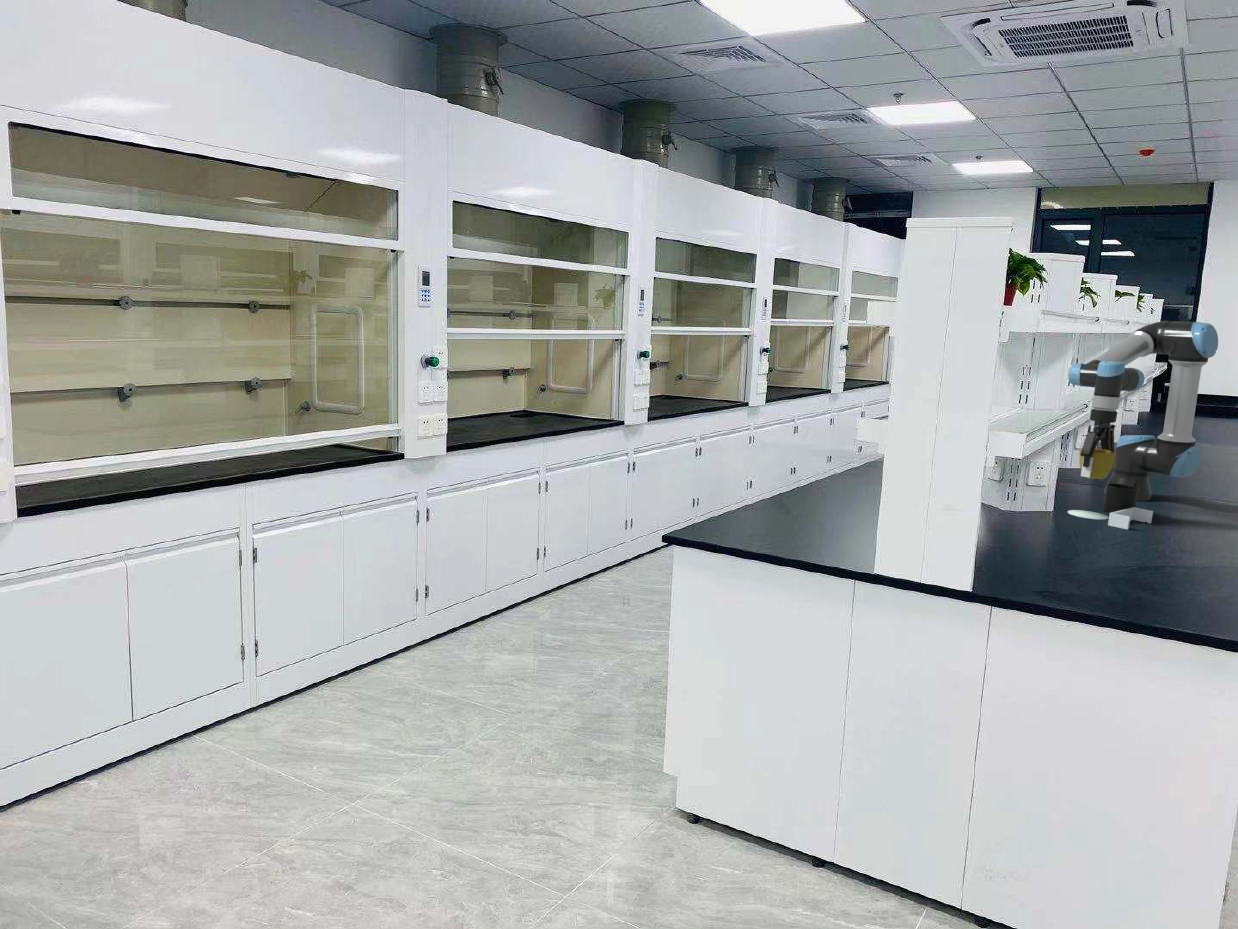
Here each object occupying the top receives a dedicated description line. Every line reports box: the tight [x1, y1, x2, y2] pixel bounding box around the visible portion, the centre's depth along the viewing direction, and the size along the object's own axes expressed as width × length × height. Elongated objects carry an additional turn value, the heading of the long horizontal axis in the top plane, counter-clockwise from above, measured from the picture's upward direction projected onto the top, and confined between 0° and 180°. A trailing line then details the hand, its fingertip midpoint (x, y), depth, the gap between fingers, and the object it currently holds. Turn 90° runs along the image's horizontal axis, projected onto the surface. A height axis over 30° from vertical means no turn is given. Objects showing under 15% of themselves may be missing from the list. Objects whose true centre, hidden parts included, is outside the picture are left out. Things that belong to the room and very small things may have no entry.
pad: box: [1067, 509, 1109, 521], centre depth 293 cm, size 12×12×1 cm
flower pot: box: [1079, 447, 1116, 480], centre depth 290 cm, size 9×9×9 cm
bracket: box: [1107, 507, 1154, 530], centre depth 283 cm, size 18×6×4 cm, turn 129°
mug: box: [1102, 484, 1139, 514], centre depth 300 cm, size 9×12×9 cm
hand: (1093, 475), depth 290 cm, fingers closed on flower pot, 12 cm apart
